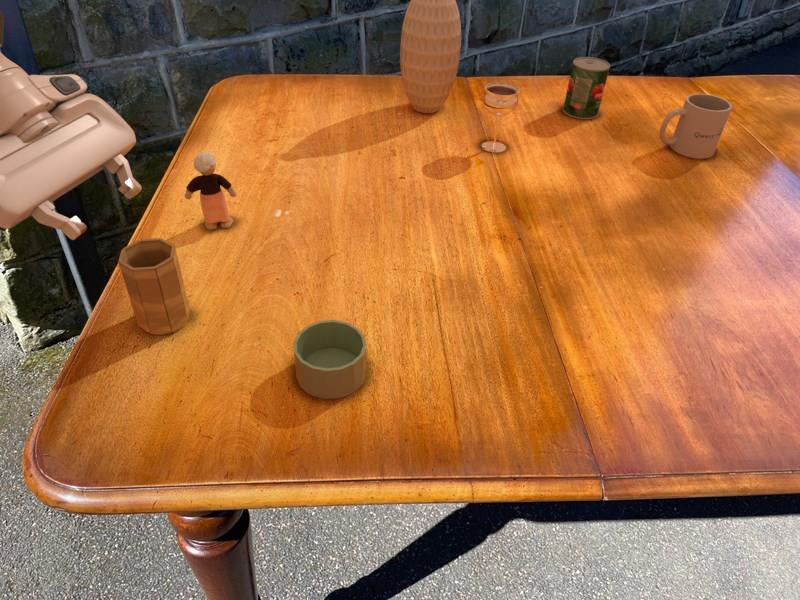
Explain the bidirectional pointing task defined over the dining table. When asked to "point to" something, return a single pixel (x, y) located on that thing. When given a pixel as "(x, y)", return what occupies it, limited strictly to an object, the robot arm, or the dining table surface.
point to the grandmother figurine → (211, 191)
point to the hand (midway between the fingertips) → (109, 213)
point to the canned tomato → (586, 87)
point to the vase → (430, 52)
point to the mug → (698, 125)
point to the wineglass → (499, 108)
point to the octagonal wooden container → (155, 285)
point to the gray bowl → (330, 359)
